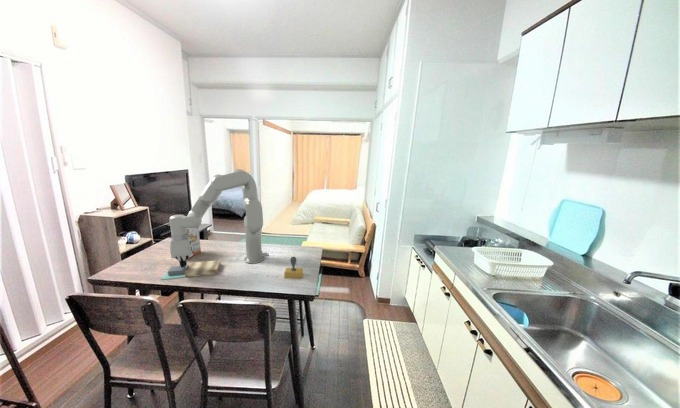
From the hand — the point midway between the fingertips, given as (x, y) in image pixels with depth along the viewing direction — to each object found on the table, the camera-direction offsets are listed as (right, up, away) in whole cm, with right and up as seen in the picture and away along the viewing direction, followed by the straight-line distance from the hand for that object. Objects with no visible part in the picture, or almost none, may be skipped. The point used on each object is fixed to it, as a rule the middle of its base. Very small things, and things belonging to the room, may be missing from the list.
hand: (183, 266), depth 137 cm
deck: (+10, -3, +4) cm, 11 cm away
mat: (-4, -4, 0) cm, 5 cm away
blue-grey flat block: (-3, -2, 0) cm, 3 cm away
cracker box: (-11, +1, +23) cm, 25 cm away
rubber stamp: (+64, -6, +1) cm, 64 cm away
